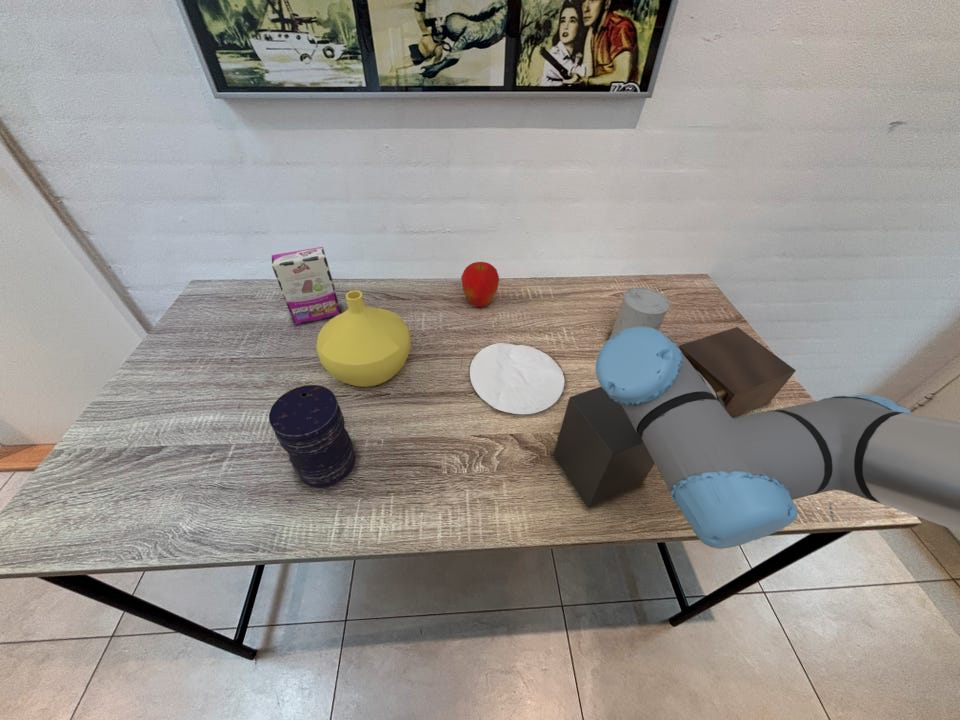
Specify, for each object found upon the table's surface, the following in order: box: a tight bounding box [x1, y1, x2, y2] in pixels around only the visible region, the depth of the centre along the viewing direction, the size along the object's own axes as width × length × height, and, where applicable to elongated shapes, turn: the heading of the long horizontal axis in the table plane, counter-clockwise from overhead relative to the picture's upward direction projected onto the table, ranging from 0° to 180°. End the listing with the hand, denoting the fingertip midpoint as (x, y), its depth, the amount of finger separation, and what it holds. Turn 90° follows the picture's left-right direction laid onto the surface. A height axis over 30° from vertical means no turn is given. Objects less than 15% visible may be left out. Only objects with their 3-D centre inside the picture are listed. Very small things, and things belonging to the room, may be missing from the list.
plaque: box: [469, 342, 565, 415], centre depth 87 cm, size 20×20×2 cm
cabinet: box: [678, 326, 797, 418], centre depth 82 cm, size 16×14×10 cm
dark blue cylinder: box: [268, 384, 357, 490], centre depth 66 cm, size 10×10×15 cm
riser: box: [553, 386, 655, 509], centre depth 66 cm, size 11×11×16 cm
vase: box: [315, 290, 412, 388], centre depth 81 cm, size 18×18×19 cm
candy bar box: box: [271, 246, 342, 326], centre depth 94 cm, size 11×5×16 cm, turn 112°
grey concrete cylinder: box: [609, 286, 671, 339], centre depth 92 cm, size 10×10×12 cm
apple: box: [460, 261, 500, 308], centre depth 101 cm, size 9×9×12 cm
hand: (728, 448), depth 61 cm, fingers open, 13 cm apart
